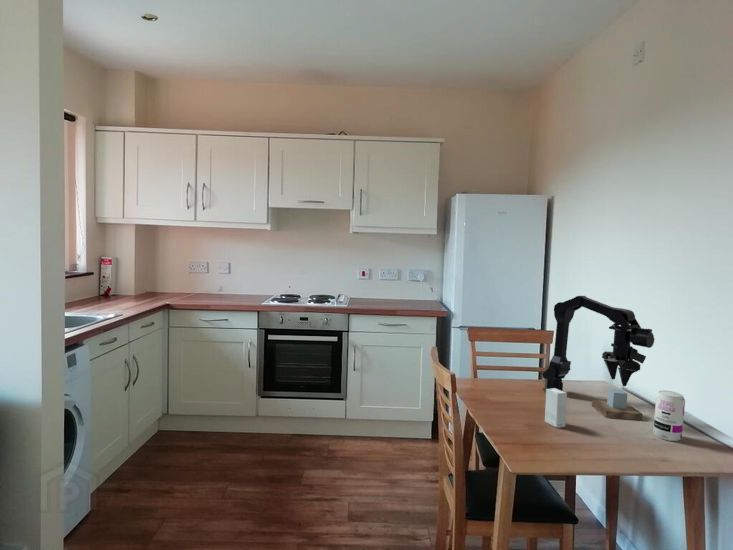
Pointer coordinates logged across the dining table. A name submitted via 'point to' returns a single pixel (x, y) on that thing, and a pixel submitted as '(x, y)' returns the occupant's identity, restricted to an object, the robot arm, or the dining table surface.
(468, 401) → the dining table surface
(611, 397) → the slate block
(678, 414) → the supplement can
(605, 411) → the walnut base
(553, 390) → the skincare box
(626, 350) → the robot arm
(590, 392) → the dining table surface
